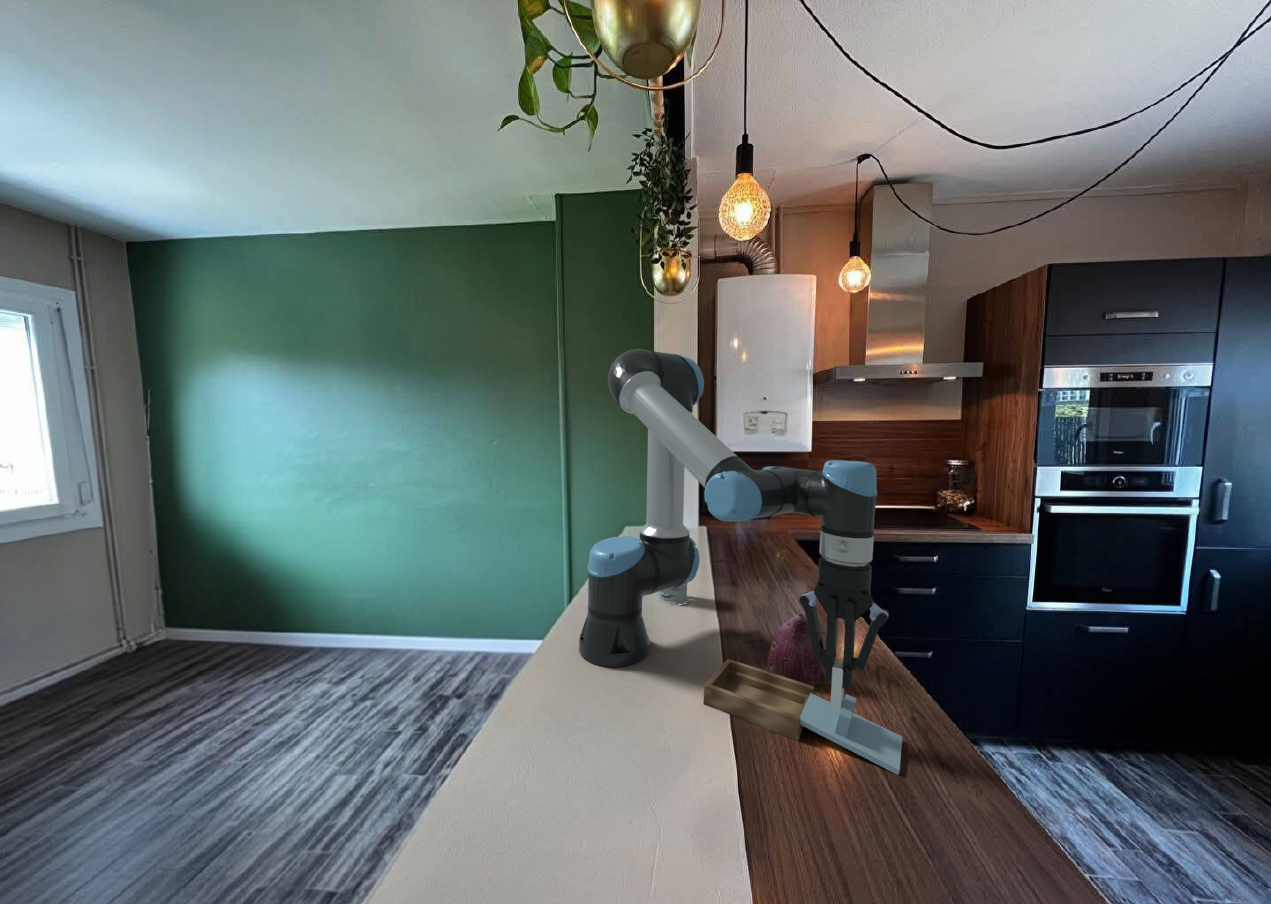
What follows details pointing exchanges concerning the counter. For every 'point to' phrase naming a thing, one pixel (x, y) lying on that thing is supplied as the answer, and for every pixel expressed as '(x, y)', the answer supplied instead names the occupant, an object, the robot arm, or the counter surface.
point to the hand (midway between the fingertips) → (836, 704)
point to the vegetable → (794, 653)
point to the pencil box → (758, 697)
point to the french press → (674, 595)
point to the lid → (853, 731)
